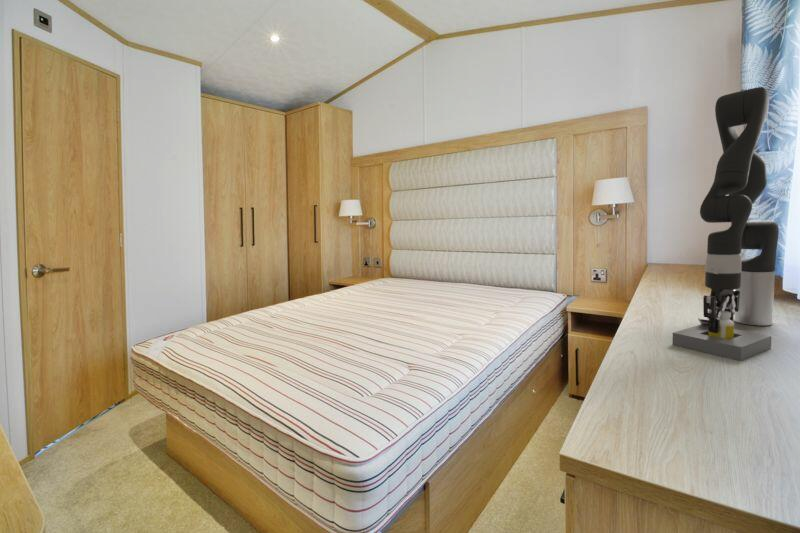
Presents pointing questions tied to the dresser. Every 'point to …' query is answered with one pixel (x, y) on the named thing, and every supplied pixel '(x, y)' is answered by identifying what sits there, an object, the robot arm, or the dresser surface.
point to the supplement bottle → (725, 327)
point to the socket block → (722, 342)
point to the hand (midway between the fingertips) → (720, 329)
